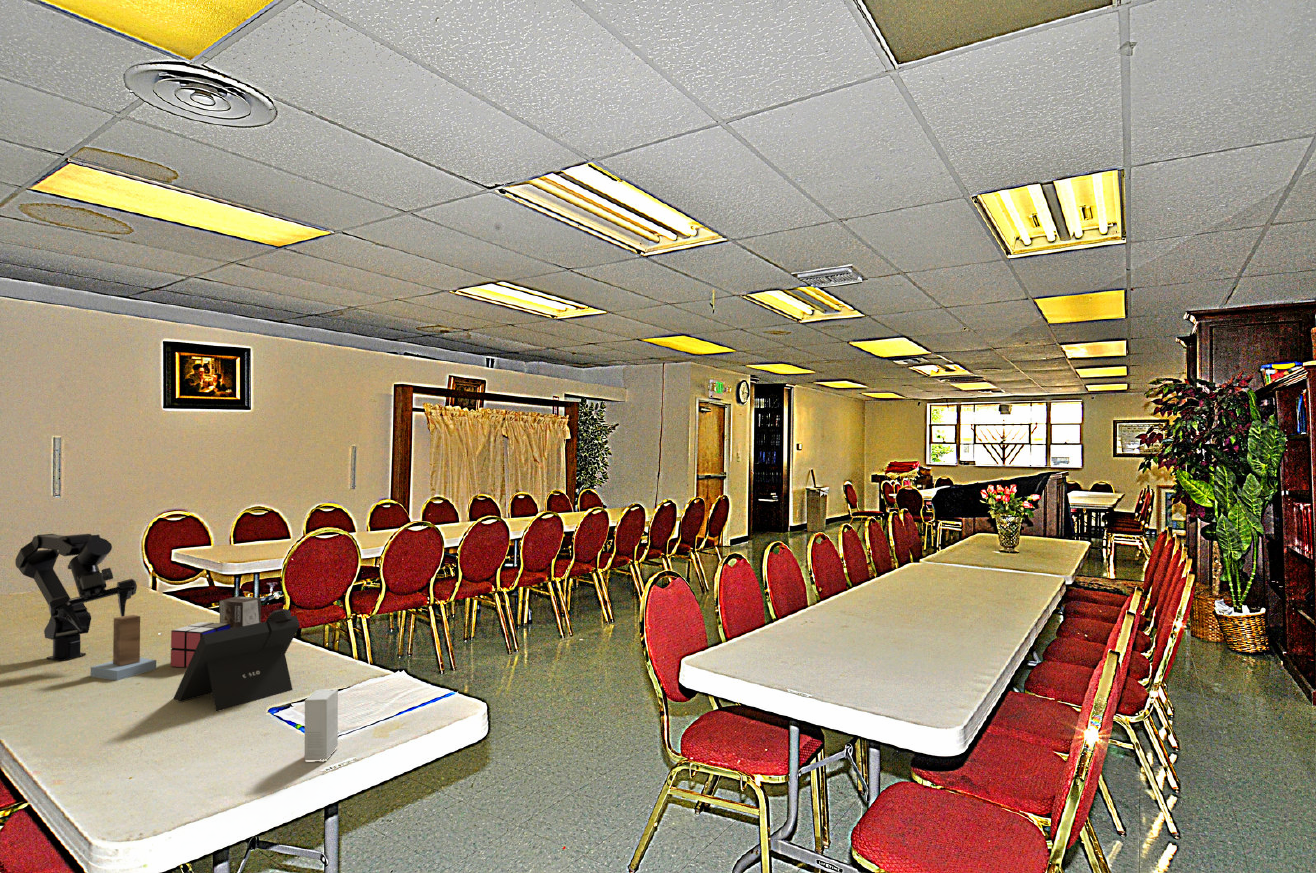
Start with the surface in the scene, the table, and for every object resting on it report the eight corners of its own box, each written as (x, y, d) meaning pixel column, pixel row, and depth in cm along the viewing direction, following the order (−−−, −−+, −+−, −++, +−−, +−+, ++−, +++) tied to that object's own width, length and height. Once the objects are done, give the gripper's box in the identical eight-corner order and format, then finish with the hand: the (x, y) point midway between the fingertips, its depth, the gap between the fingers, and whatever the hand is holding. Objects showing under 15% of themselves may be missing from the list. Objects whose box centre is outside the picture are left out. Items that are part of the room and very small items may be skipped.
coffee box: (261, 653, 204) (262, 597, 205) (242, 659, 198) (242, 602, 199) (238, 650, 207) (238, 595, 208) (218, 656, 201) (218, 599, 202)
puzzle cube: (200, 669, 190) (201, 632, 190) (169, 667, 192) (170, 630, 192) (230, 658, 200) (230, 623, 200) (200, 656, 202) (200, 621, 202)
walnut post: (113, 663, 187) (113, 617, 187) (132, 659, 190) (133, 614, 191) (120, 665, 184) (120, 619, 185) (139, 661, 188) (140, 616, 188)
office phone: (274, 661, 198) (275, 589, 198) (330, 680, 182) (331, 602, 182) (153, 690, 174) (154, 608, 174) (206, 715, 158) (207, 625, 158)
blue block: (90, 678, 184) (90, 666, 184) (130, 667, 193) (130, 656, 193) (117, 682, 180) (117, 670, 180) (156, 670, 190) (156, 659, 190)
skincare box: (315, 749, 140) (316, 688, 140) (338, 748, 140) (338, 688, 140) (303, 763, 134) (303, 699, 134) (326, 762, 134) (327, 699, 134)
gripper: (42, 571, 183) (58, 624, 179) (129, 551, 197) (146, 600, 192) (42, 590, 190) (58, 641, 186) (127, 569, 204) (143, 617, 199)
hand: (102, 624), depth 191 cm, fingers open, 9 cm apart
